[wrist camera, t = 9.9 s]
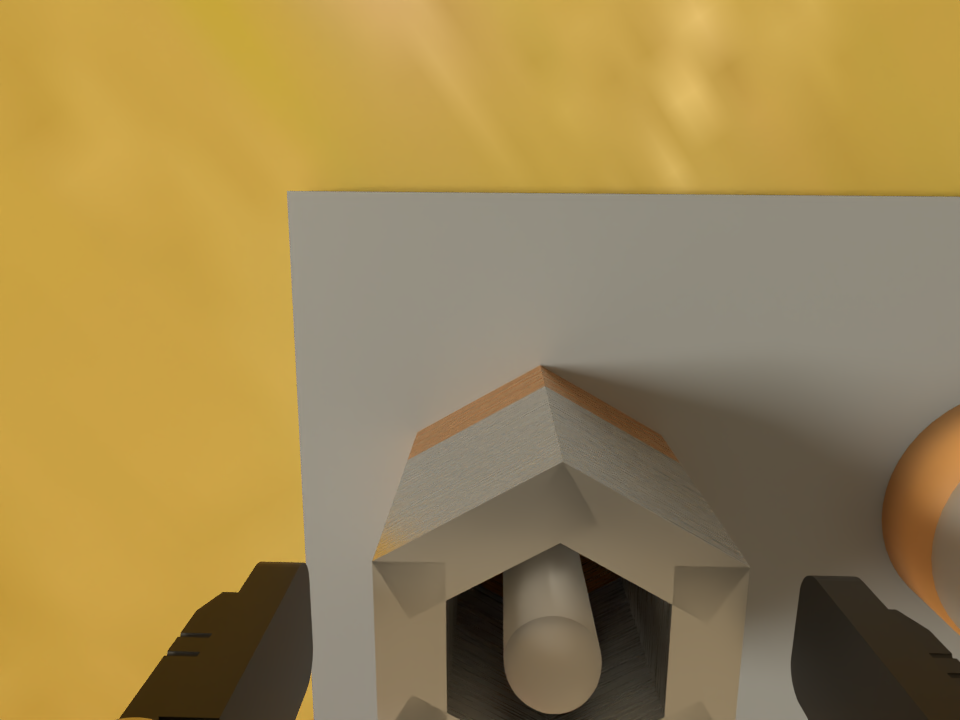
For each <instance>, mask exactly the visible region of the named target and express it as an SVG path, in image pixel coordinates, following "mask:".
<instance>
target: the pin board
mask: <svg viewBox="0 0 960 720" xmlns="http://www.w3.org/2000/svg"><path fill="white" fill-rule="evenodd" d="M287 199H288V219H289V239H290V258H291V278H292V297H293V317H294V337H295V356H296V376H297V396H298V415H299V435H300V454H301V474H302V494H303V513H304V533H305V552H306V565H307V567H308V571H309V580H310V599H311V617H312V636H313V661H312V669H311V670H312V690H313V709H314V720H378V717H377V688H376V660H375V632H374V603H373V575H372V560H373V557H374V554H375V551H376V548H377V545H378V543H379V540H380V537H381V534H382V531H383V528H384V525H385V523H386V520H387V517H388V514H389V511H390V508H391V506H392V503H393V500H394V497H395V494H396V491H397V489H398V486H399V483H400V480H401V477H402V474H403V472H404V469H405V466H406V463H407V460H408V457H409V454H410V452H411V449H412V446H413V443H414V440H415V437H416V435H417V432H418V431H420V430H422V429H424V428H426V427H428V426H429V425H431V424H433V423H435V422H437V421H439V420H440V419H442V418H444V417H446V416H448V415H450V414H451V413H453V412H455V411H457V410H459V409H461V408H462V407H464V406H466V405H468V404H470V403H472V402H473V401H475V400H477V399H479V398H481V397H483V396H484V395H486V394H488V393H490V392H492V391H494V390H495V389H497V388H499V387H501V386H503V385H505V384H506V383H508V382H510V381H512V380H514V379H516V378H517V377H519V376H521V375H523V374H525V373H526V372H528V371H530V370H532V369H534V368H536V367H537V366H539V365H541V366H542V367H544V368H546V369H548V370H549V371H551V372H553V373H555V374H556V375H558V376H560V377H562V378H563V379H565V380H567V381H569V382H570V383H572V384H574V385H575V386H577V387H579V388H581V389H582V390H584V391H586V392H588V393H589V394H591V395H593V396H595V397H596V398H598V399H600V400H602V401H603V402H605V403H607V404H608V405H610V406H612V407H614V408H615V409H617V410H619V411H621V412H622V413H624V414H626V415H628V416H629V417H631V418H633V419H635V420H636V421H638V422H640V423H641V424H643V425H645V426H647V427H648V428H650V429H652V430H654V431H655V432H657V433H659V434H661V436H662V437H663V439H664V440H665V441H666V443H667V444H668V446H669V447H670V449H671V450H672V452H673V453H674V455H675V456H676V458H677V459H678V461H679V462H680V464H681V465H682V467H683V468H684V470H685V471H686V473H687V474H688V476H689V477H690V479H691V480H692V482H693V483H694V485H695V486H696V488H697V489H698V491H699V492H700V494H701V495H702V496H703V498H704V499H705V501H706V502H707V504H708V505H709V507H710V508H711V510H712V511H713V513H714V514H715V516H716V517H717V519H718V520H719V522H720V523H721V525H722V526H723V528H724V529H725V531H726V532H727V534H728V535H729V537H730V538H731V540H732V541H733V543H734V544H735V546H736V547H737V549H738V550H739V551H740V553H741V554H742V556H743V557H744V559H745V560H746V562H747V563H748V565H749V566H750V573H749V583H748V593H747V604H746V614H745V625H744V635H743V646H742V656H741V667H740V677H739V688H738V698H737V709H736V719H735V720H808V718H807V717H806V715H805V713H804V711H803V710H802V708H801V706H800V704H799V702H798V700H797V698H796V695H795V692H794V688H793V684H792V678H791V654H792V646H793V639H794V631H795V623H796V615H797V607H798V600H799V592H800V586H801V583H802V581H803V579H804V578H805V577H806V576H809V575H817V576H855V577H858V578H860V579H861V580H862V581H863V582H864V583H865V584H866V585H867V586H868V587H869V589H870V590H871V591H872V592H873V593H874V594H875V595H876V596H877V597H878V598H879V600H880V601H881V602H882V603H883V604H884V605H885V606H886V607H887V608H888V609H896V610H898V611H899V612H901V613H903V614H904V615H906V616H907V617H909V618H911V619H912V620H914V621H916V622H917V623H919V624H920V625H922V626H924V627H925V628H927V629H928V630H930V631H931V632H932V633H933V634H934V636H935V637H936V638H937V639H938V640H939V641H940V642H941V643H942V644H943V645H944V646H945V647H946V648H947V649H948V650H949V651H950V652H951V653H952V657H953V658H957V659H958V660H959V661H960V197H917V196H800V195H682V194H564V193H447V192H329V191H287ZM503 657H504V669H505V674H506V677H507V680H508V682H509V684H510V686H511V688H512V690H513V691H514V693H515V694H516V695H517V696H518V698H519V699H520V700H521V701H522V702H524V703H525V704H526V705H527V706H529V707H531V708H533V709H535V710H537V711H539V712H542V713H547V714H562V713H567V712H570V711H572V710H575V709H576V708H578V707H580V706H581V705H582V704H584V703H585V702H586V701H587V700H588V699H589V698H590V697H591V695H592V694H593V692H594V690H595V689H596V687H597V685H598V682H599V679H600V675H601V668H602V658H601V651H600V646H599V642H598V637H597V633H596V628H595V624H594V619H593V614H592V610H591V605H590V601H589V596H588V592H587V587H586V583H585V578H584V574H583V569H582V564H581V560H580V555H579V553H578V552H576V551H574V550H572V549H570V548H569V547H567V546H565V545H563V544H561V543H559V544H557V545H555V546H553V547H551V548H549V549H547V550H545V551H543V552H541V553H539V554H537V555H535V556H533V557H531V558H529V559H527V560H526V561H524V562H522V563H520V564H518V565H516V566H514V567H512V568H510V569H508V570H506V571H504V572H503Z"/></svg>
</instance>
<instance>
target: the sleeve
mask: <svg viewBox="0 0 960 720" xmlns="http://www.w3.org/2000/svg"><path fill="white" fill-rule="evenodd" d="M559 543H561V544H563V545H565V546H567V547H569V548H570V549H572V550H574V551H576V552H578V553H579V555H580V560H581V564H582V569H583V574H584V578H585V583H586V587H587V592H588V596H589V601H590V605H591V610H592V614H593V619H594V624H595V628H596V633H597V637H598V642H599V646H600V651H601V658H602V668H601V675H600V679H599V682H598V685H597V687H596V689H595V690H594V692H593V694H592V695H591V697H590V698H589V699H588V700H587V701H586V702H585V703H584V704H582V705H581V706H580V707H578V708H576V709H575V710H572V711H570V712H567V713H562V714H547V713H542V712H539V711H537V710H535V709H533V708H531V707H529V706H527V705H526V704H525V703H524V702H522V701H521V700H520V699H519V698H518V696H517V695H516V694H515V693H514V691H513V690H512V688H511V686H510V684H509V682H508V680H507V677H506V674H505V669H504V657H503V572H504V571H506V570H508V569H510V568H512V567H514V566H516V565H518V564H520V563H522V562H524V561H526V560H527V559H529V558H531V557H533V556H535V555H537V554H539V553H541V552H543V551H545V550H547V549H549V548H551V547H553V546H555V545H557V544H559ZM749 573H750V566H749V565H748V563H747V562H746V560H745V559H744V557H743V556H742V554H741V553H740V551H739V550H738V549H737V547H736V546H735V544H734V543H733V541H732V540H731V538H730V537H729V535H728V534H727V532H726V531H725V529H724V528H723V526H722V525H721V523H720V522H719V520H718V519H717V517H716V516H715V514H714V513H713V511H712V510H711V508H710V507H709V505H708V504H707V502H706V501H705V499H704V498H703V496H702V495H701V494H700V492H699V491H698V489H697V488H696V486H695V485H694V483H693V482H692V480H691V479H690V477H689V476H688V474H687V473H686V471H685V470H684V468H683V467H682V465H681V464H680V462H679V461H678V459H677V458H676V456H675V455H674V453H673V452H672V450H671V449H670V447H669V446H668V444H667V443H666V441H665V440H664V439H663V437H662V436H661V434H659V433H657V432H655V431H654V430H652V429H650V428H648V427H647V426H645V425H643V424H641V423H640V422H638V421H636V420H635V419H633V418H631V417H629V416H628V415H626V414H624V413H622V412H621V411H619V410H617V409H615V408H614V407H612V406H610V405H608V404H607V403H605V402H603V401H602V400H600V399H598V398H596V397H595V396H593V395H591V394H589V393H588V392H586V391H584V390H582V389H581V388H579V387H577V386H575V385H574V384H572V383H570V382H569V381H567V380H565V379H563V378H562V377H560V376H558V375H556V374H555V373H553V372H551V371H549V370H548V369H546V368H544V367H542V366H541V365H539V366H537V367H536V368H534V369H532V370H530V371H528V372H526V373H525V374H523V375H521V376H519V377H517V378H516V379H514V380H512V381H510V382H508V383H506V384H505V385H503V386H501V387H499V388H497V389H495V390H494V391H492V392H490V393H488V394H486V395H484V396H483V397H481V398H479V399H477V400H475V401H473V402H472V403H470V404H468V405H466V406H464V407H462V408H461V409H459V410H457V411H455V412H453V413H451V414H450V415H448V416H446V417H444V418H442V419H440V420H439V421H437V422H435V423H433V424H431V425H429V426H428V427H426V428H424V429H422V430H420V431H418V432H417V435H416V437H415V440H414V443H413V446H412V449H411V452H410V454H409V457H408V460H407V463H406V466H405V469H404V472H403V474H402V477H401V480H400V483H399V486H398V489H397V491H396V494H395V497H394V500H393V503H392V506H391V508H390V511H389V514H388V517H387V520H386V523H385V525H384V528H383V531H382V534H381V537H380V540H379V543H378V545H377V548H376V551H375V554H374V557H373V560H372V575H373V603H374V632H375V660H376V688H377V717H378V720H735V719H736V709H737V698H738V688H739V677H740V667H741V656H742V646H743V635H744V625H745V614H746V604H747V593H748V583H749Z"/></svg>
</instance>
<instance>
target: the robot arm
mask: <svg viewBox="0 0 960 720" xmlns="http://www.w3.org/2000/svg"><path fill="white" fill-rule="evenodd" d="M312 661H313V636H312V617H311V599H310V580H309V571H308V567H307V565H306V563H294V562H259V563H258V564H257V565H256V566H255V568H254V569H253V571H252V572H251V574H250V575H249V577H248V579H247V580H246V582H245V583H244V585H243V586H242V588H241V589H240V591H239V592H238V593H236V592H222V593H221V594H220V595H218V596H217V597H215V598H214V599H212V600H211V601H210V602H208V603H207V604H205V605H204V606H203V607H201V608H200V609H198V610H197V611H196V612H195V614H194V615H193V616H192V618H191V619H190V621H189V622H188V623H187V625H186V626H185V628H184V629H183V630H182V632H181V636H180V637H177V639H176V640H175V642H174V643H173V644H172V646H171V647H170V648H169V650H168V654H167V656H164V657H163V658H162V660H161V661H160V662H159V664H158V665H157V667H156V668H155V669H154V671H153V672H152V674H151V675H150V676H149V678H148V679H147V681H146V682H145V683H144V685H143V686H142V688H141V689H140V690H139V692H138V693H137V695H136V696H135V697H134V699H133V700H132V702H131V703H130V704H129V706H128V707H127V708H126V710H125V711H124V713H123V714H122V715H121V717H120V718H119V719H117V720H295V719H296V716H297V714H298V711H299V708H300V706H301V703H302V701H303V698H304V695H305V693H306V690H307V687H308V684H309V680H310V675H311V669H312ZM791 678H792V684H793V688H794V692H795V695H796V698H797V700H798V702H799V704H800V706H801V708H802V710H803V711H804V713H805V715H806V717H807V718H808V720H960V661H959V660H958V659H957V658H953V657H952V653H951V652H950V651H949V650H948V649H947V648H946V647H945V646H944V645H943V644H942V643H941V642H940V641H939V640H938V639H937V638H936V637H935V636H934V634H933V633H932V632H931V631H930V630H928V629H927V628H925V627H924V626H922V625H920V624H919V623H917V622H916V621H914V620H912V619H911V618H909V617H907V616H906V615H904V614H903V613H901V612H899V611H898V610H896V609H888V608H887V607H886V606H885V605H884V604H883V603H882V602H881V601H880V600H879V598H878V597H877V596H876V595H875V594H874V593H873V592H872V591H871V590H870V589H869V587H868V586H867V585H866V584H865V583H864V582H863V581H862V580H861V579H860V578H858V577H855V576H817V575H809V576H806V577H805V578H804V579H803V581H802V583H801V586H800V592H799V600H798V607H797V615H796V623H795V631H794V639H793V646H792V654H791Z"/></svg>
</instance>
